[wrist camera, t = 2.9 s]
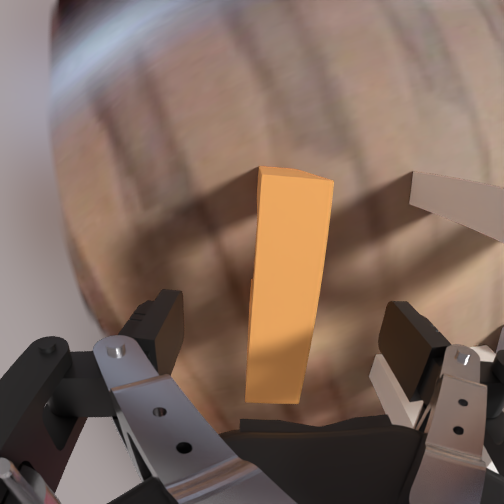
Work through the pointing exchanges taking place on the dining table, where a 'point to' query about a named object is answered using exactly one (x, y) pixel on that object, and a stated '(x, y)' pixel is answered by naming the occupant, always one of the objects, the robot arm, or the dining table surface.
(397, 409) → the white square table frame
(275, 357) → the orange arch block
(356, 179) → the dining table surface
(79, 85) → the dining table surface
